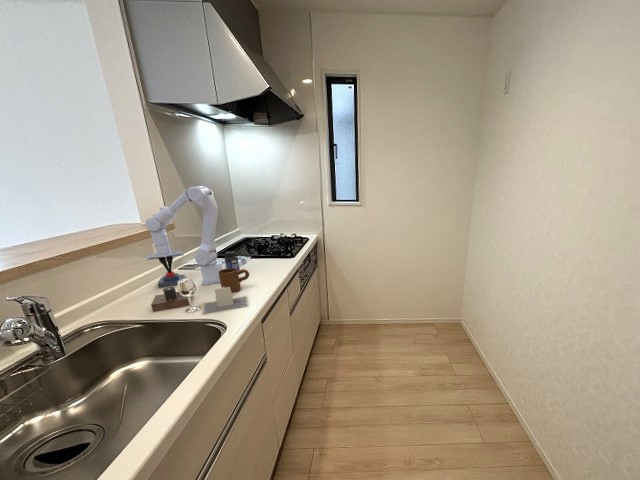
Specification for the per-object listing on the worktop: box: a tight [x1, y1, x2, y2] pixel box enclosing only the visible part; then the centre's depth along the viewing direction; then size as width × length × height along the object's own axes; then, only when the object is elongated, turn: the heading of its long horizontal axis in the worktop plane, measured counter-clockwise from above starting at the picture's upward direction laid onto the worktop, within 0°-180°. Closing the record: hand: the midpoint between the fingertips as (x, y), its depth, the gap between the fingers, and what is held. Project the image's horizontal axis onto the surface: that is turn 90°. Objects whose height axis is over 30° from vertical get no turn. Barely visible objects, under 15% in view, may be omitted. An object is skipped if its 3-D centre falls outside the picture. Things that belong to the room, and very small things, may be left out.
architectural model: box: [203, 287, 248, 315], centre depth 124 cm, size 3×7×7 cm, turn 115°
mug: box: [219, 268, 250, 293], centre depth 138 cm, size 12×8×9 cm, turn 111°
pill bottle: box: [224, 250, 241, 271], centre depth 162 cm, size 6×6×11 cm
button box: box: [157, 272, 187, 289], centre depth 149 cm, size 10×10×4 cm
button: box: [164, 270, 176, 277], centre depth 148 cm, size 4×4×2 cm
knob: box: [162, 286, 177, 299], centre depth 124 cm, size 4×4×4 cm
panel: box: [150, 291, 192, 313], centre depth 126 cm, size 12×11×3 cm
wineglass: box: [176, 278, 200, 313], centre depth 118 cm, size 6×6×12 cm
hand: (169, 272), depth 148 cm, fingers closed
